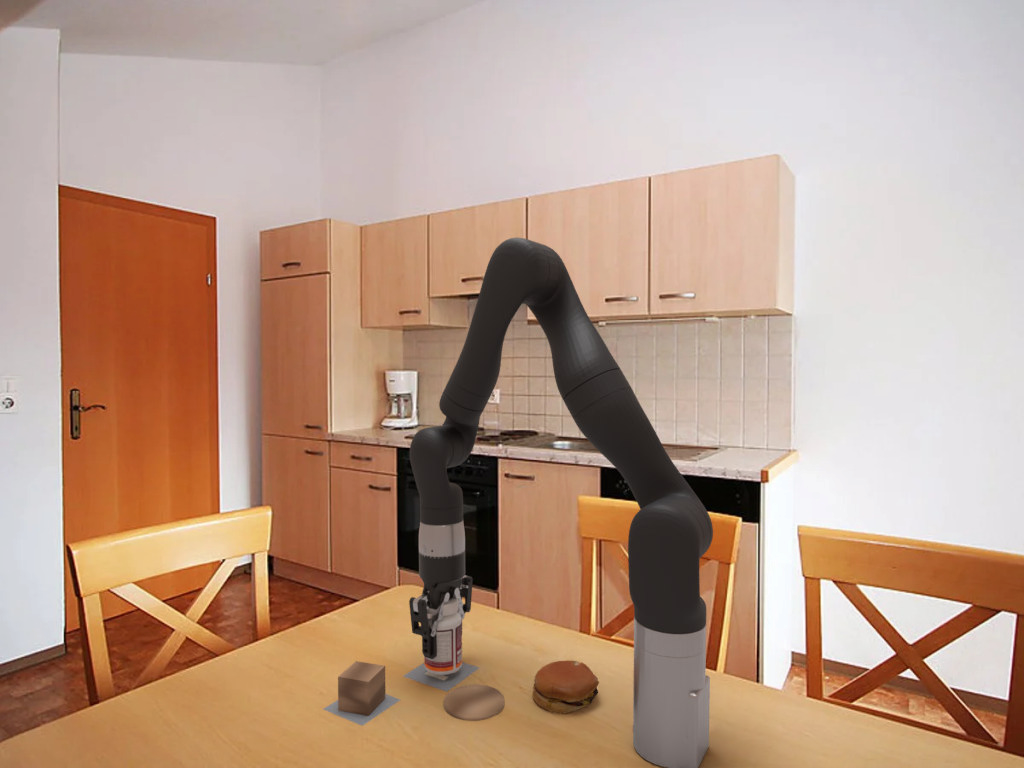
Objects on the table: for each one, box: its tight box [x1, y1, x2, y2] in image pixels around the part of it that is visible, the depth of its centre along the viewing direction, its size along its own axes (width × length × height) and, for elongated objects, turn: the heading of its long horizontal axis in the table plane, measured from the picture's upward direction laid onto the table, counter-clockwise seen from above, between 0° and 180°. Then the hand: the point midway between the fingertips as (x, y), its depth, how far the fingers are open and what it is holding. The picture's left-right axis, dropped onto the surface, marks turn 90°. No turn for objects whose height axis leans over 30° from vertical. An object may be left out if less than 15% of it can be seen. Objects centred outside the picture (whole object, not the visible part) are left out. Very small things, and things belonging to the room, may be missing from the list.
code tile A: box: [402, 661, 480, 693], centre depth 104 cm, size 9×9×1 cm
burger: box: [532, 660, 600, 715], centre depth 96 cm, size 10×9×5 cm
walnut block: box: [337, 660, 386, 716], centre depth 94 cm, size 5×5×5 cm
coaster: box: [443, 683, 505, 722], centre depth 94 cm, size 9×9×1 cm
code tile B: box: [323, 693, 401, 726], centre depth 94 cm, size 8×8×1 cm
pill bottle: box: [423, 598, 463, 675], centre depth 103 cm, size 6×6×11 cm
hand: (443, 648), depth 103 cm, fingers closed on pill bottle, 6 cm apart
